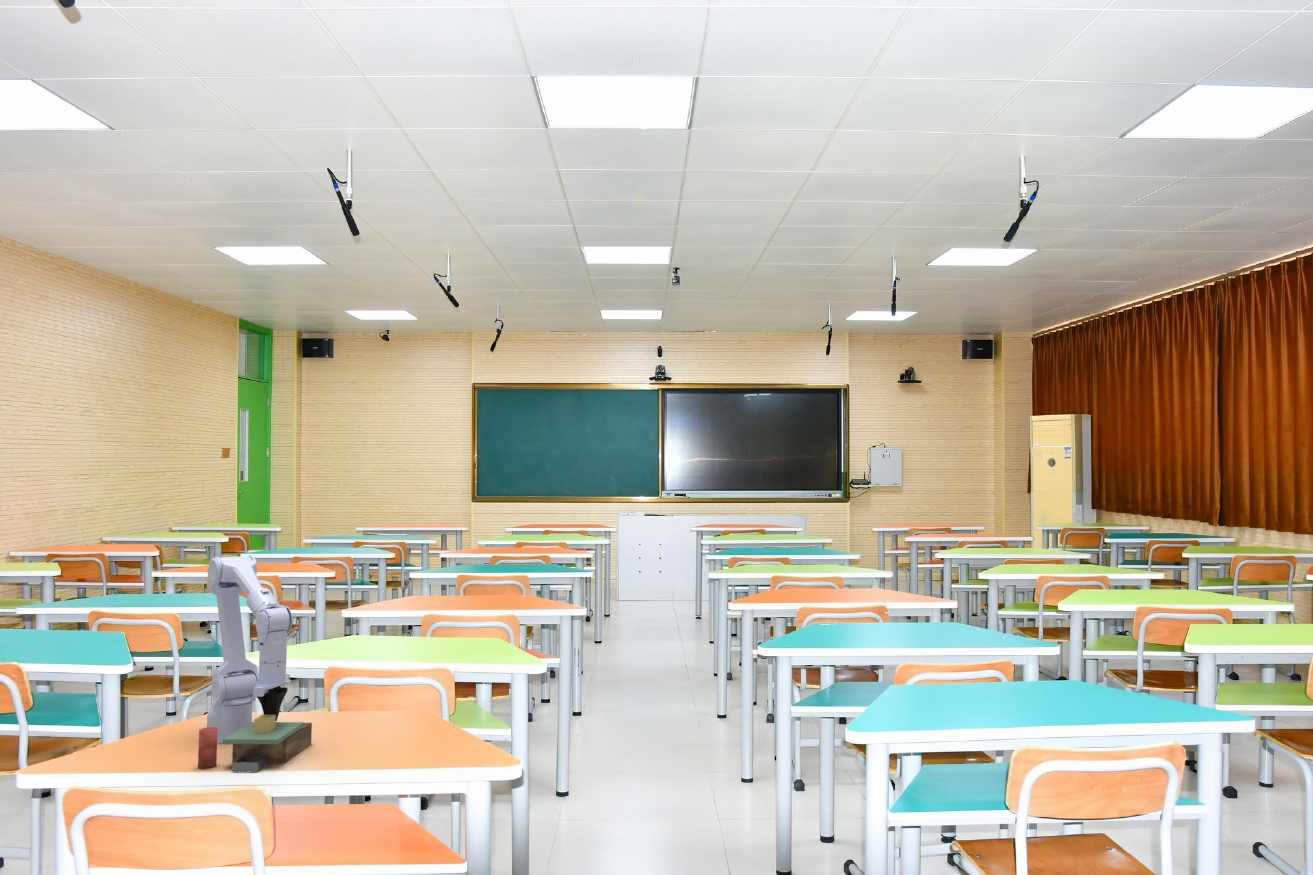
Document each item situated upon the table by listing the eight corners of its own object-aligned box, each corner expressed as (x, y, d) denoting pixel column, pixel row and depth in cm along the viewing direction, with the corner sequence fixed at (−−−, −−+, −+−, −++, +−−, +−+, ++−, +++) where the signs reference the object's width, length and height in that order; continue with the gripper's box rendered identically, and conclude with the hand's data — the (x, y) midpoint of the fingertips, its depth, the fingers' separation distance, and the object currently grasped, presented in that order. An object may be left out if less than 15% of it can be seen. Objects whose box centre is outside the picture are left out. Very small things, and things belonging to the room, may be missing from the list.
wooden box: (232, 762, 195) (232, 739, 195) (260, 743, 209) (261, 722, 209) (286, 762, 195) (286, 739, 195) (311, 743, 209) (311, 722, 209)
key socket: (231, 771, 188) (232, 762, 188) (244, 763, 193) (244, 754, 194) (257, 772, 188) (258, 762, 188) (269, 763, 193) (269, 754, 194)
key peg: (194, 768, 190) (195, 731, 190) (203, 763, 193) (204, 726, 194) (211, 769, 190) (212, 731, 190) (219, 763, 193) (220, 726, 194)
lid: (222, 743, 190) (222, 725, 191) (252, 726, 204) (252, 708, 204) (277, 744, 190) (278, 725, 190) (303, 726, 204) (304, 709, 204)
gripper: (276, 667, 194) (275, 730, 193) (303, 655, 209) (301, 713, 208) (244, 667, 194) (242, 730, 193) (273, 655, 209) (271, 713, 208)
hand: (271, 721), depth 201 cm, fingers closed
